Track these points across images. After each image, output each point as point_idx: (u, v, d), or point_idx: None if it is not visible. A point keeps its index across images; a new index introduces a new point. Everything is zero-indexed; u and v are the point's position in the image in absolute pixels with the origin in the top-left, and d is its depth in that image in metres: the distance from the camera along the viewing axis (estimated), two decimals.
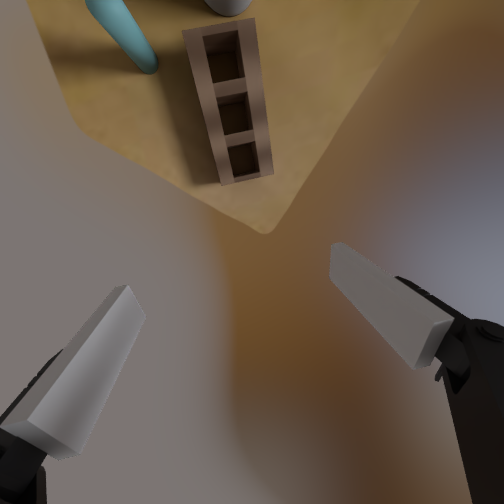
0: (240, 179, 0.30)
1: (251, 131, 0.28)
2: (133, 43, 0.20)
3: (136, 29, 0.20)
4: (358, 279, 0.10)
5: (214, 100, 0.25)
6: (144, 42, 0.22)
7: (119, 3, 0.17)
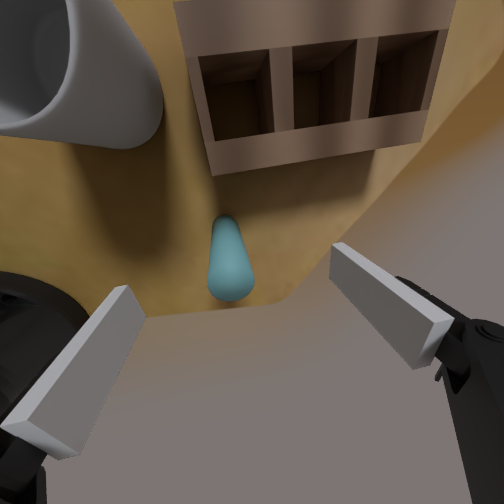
0: (429, 93, 0.14)
1: (359, 45, 0.12)
2: (244, 248, 0.15)
3: (231, 241, 0.14)
4: (358, 278, 0.10)
5: (297, 133, 0.14)
6: (230, 231, 0.16)
7: (231, 264, 0.11)
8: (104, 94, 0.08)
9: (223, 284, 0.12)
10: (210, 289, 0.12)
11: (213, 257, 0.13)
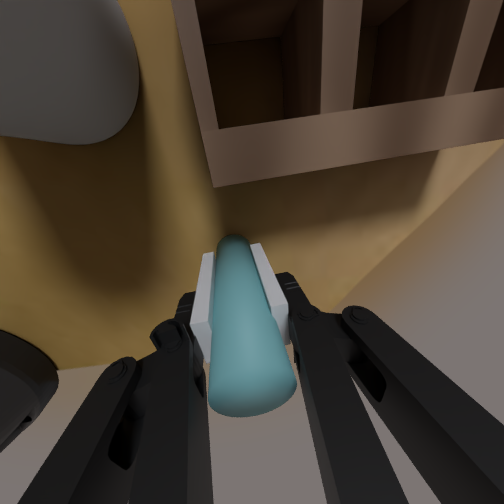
0: None
1: None
2: None
3: (250, 294, 0.09)
4: None
5: (357, 116, 0.08)
6: (245, 268, 0.11)
7: (258, 367, 0.06)
8: None
9: (238, 397, 0.06)
10: (212, 405, 0.06)
11: (219, 330, 0.07)
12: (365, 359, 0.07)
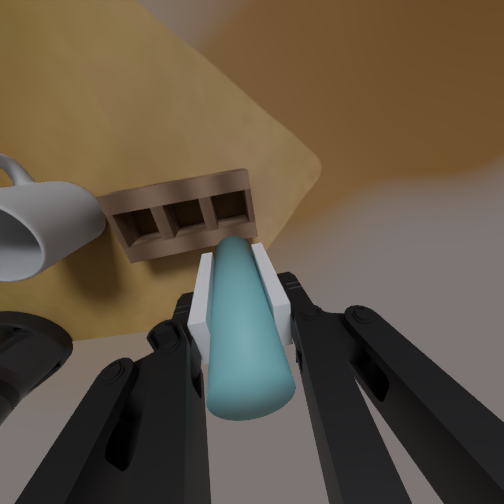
0: (252, 214, 0.25)
1: (200, 200, 0.23)
2: (269, 306, 0.09)
3: (249, 297, 0.08)
4: (259, 274, 0.11)
5: (177, 239, 0.25)
6: (244, 270, 0.11)
7: (256, 371, 0.06)
8: (60, 254, 0.20)
9: (236, 401, 0.06)
10: (211, 408, 0.06)
11: (218, 333, 0.07)
12: (368, 359, 0.07)
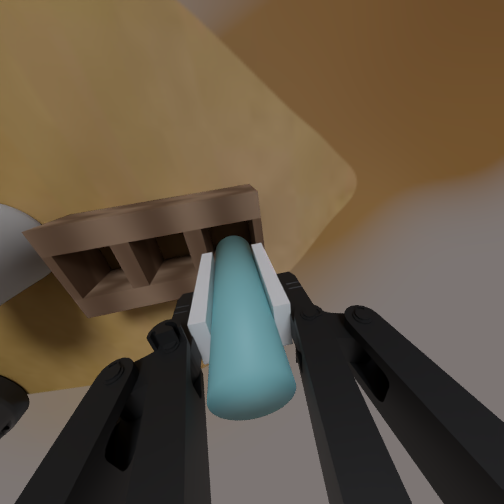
0: None
1: (186, 235, 0.16)
2: None
3: (249, 296, 0.08)
4: (259, 274, 0.11)
5: (153, 286, 0.17)
6: (245, 270, 0.11)
7: (257, 371, 0.06)
8: None
9: (237, 400, 0.06)
10: (211, 408, 0.06)
11: (219, 333, 0.07)
12: (368, 359, 0.07)
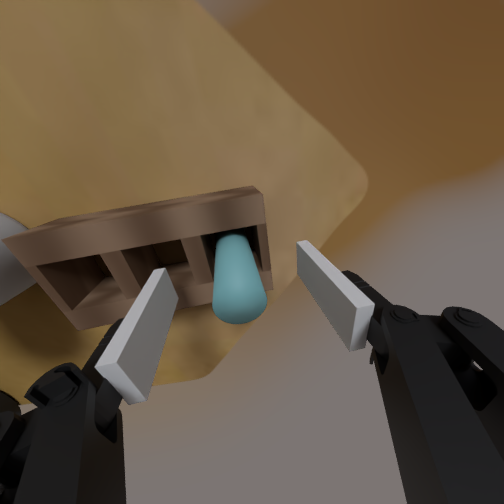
0: (266, 261, 0.16)
1: (184, 242, 0.14)
2: (254, 261, 0.13)
3: (240, 253, 0.12)
4: (313, 273, 0.11)
5: None
6: (238, 240, 0.15)
7: (242, 283, 0.10)
8: None
9: (230, 305, 0.10)
10: (215, 310, 0.10)
11: (219, 271, 0.11)
12: (464, 367, 0.07)
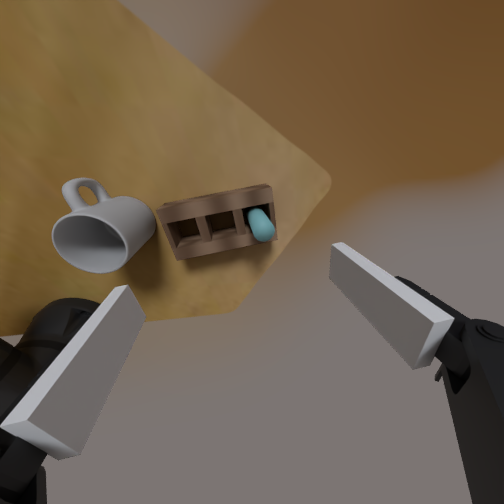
0: (273, 222, 0.31)
1: (233, 211, 0.29)
2: None
3: (262, 214, 0.28)
4: (358, 279, 0.10)
5: (213, 242, 0.31)
6: (260, 210, 0.30)
7: (265, 221, 0.25)
8: (133, 253, 0.26)
9: (260, 232, 0.25)
10: (254, 233, 0.25)
11: (254, 220, 0.26)
12: None
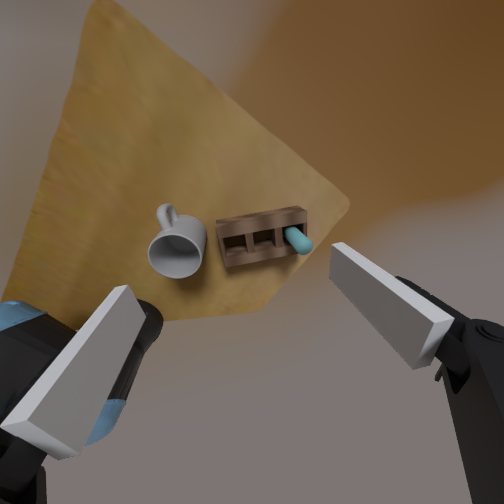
0: None
1: (275, 229, 0.37)
2: None
3: (300, 232, 0.35)
4: (358, 279, 0.10)
5: (256, 253, 0.38)
6: (296, 228, 0.37)
7: (306, 240, 0.32)
8: None
9: (301, 247, 0.33)
10: (297, 249, 0.32)
11: (296, 238, 0.34)
12: None
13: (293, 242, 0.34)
